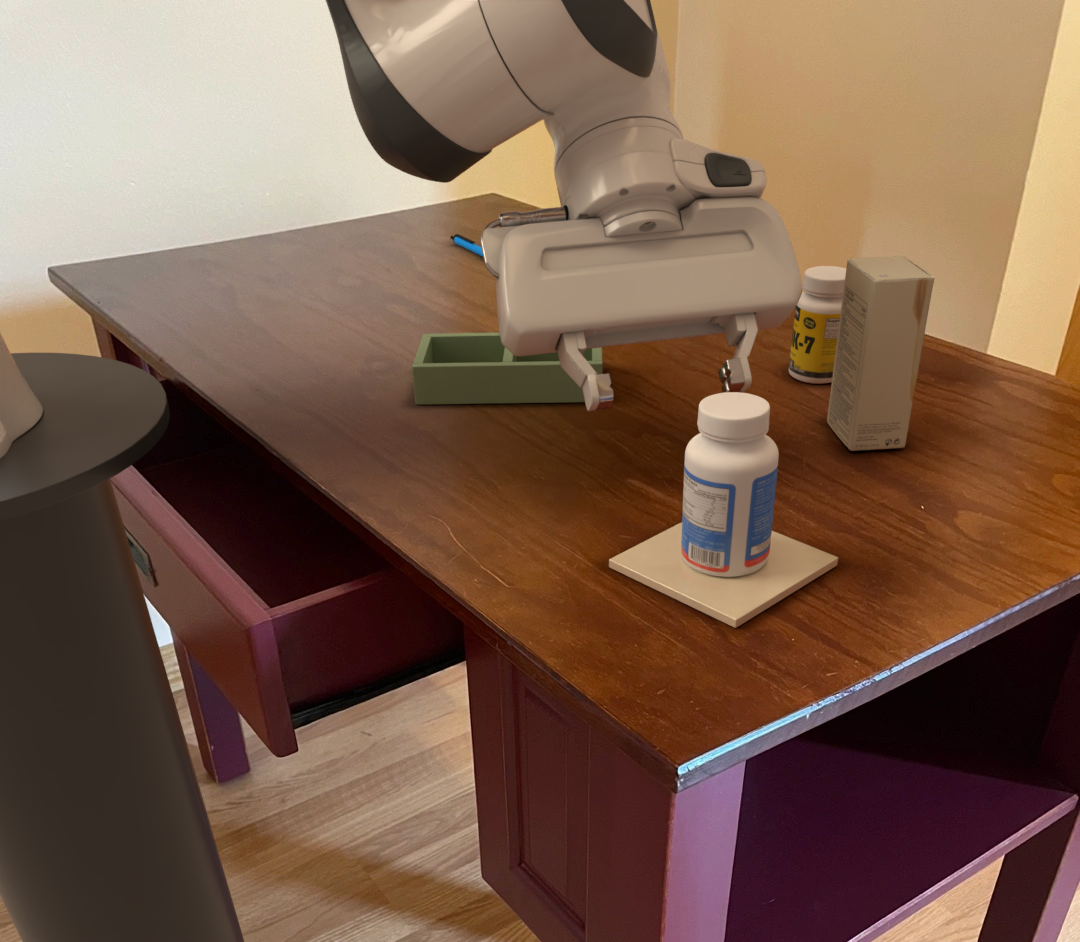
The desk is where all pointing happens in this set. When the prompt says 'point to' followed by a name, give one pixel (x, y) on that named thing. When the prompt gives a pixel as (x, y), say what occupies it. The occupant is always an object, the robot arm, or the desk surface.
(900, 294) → the cosmetic box
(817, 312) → the supplement bottle
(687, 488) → the pill bottle
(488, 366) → the bottle rack
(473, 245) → the pen
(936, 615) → the desk surface
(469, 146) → the robot arm
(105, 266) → the desk surface
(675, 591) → the tile
